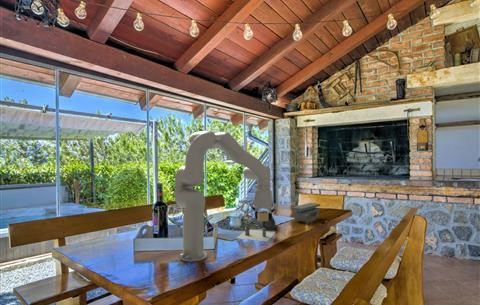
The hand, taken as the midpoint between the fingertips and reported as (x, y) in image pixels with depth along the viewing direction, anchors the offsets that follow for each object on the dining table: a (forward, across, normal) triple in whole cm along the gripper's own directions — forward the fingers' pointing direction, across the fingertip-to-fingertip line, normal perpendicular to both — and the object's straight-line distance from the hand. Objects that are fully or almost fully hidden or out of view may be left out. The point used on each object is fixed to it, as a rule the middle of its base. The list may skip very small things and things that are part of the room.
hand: (263, 219), depth 162 cm
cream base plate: (+11, -5, +3) cm, 12 cm away
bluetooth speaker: (+11, -5, +25) cm, 27 cm away
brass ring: (0, 0, 0) cm, 0 cm away
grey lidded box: (+10, +18, +53) cm, 57 cm away
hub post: (+10, -10, +1) cm, 14 cm away
